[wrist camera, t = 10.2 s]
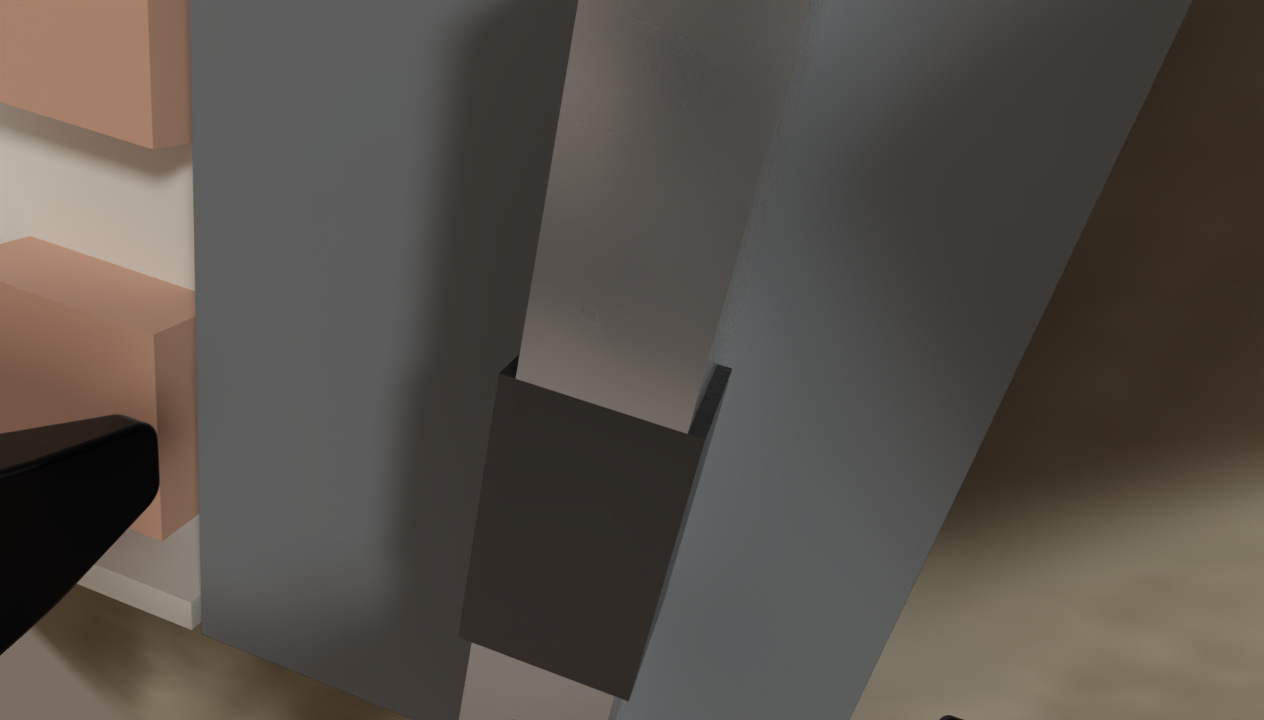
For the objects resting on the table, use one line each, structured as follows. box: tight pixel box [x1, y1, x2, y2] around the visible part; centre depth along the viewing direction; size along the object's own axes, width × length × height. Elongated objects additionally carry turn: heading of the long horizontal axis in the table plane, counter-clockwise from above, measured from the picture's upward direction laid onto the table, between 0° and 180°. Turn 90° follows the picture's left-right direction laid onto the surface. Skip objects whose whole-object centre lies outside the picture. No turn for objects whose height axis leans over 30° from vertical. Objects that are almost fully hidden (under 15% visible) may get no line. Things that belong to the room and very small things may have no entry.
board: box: [189, 0, 1193, 720], centre depth 14 cm, size 13×17×3 cm
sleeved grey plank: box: [458, 0, 828, 720], centre depth 11 cm, size 2×15×4 cm, turn 168°
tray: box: [0, 102, 201, 630], centre depth 16 cm, size 8×17×3 cm, turn 167°
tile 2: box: [0, 236, 199, 541], centre depth 18 cm, size 5×5×2 cm
